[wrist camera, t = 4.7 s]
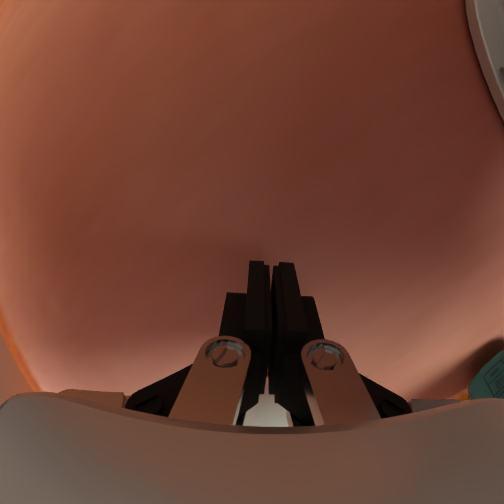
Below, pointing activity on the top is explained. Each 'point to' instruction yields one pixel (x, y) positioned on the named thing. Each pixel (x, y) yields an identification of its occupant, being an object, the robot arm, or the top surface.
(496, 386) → the beverage bottle
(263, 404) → the cue ball
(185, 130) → the top surface
